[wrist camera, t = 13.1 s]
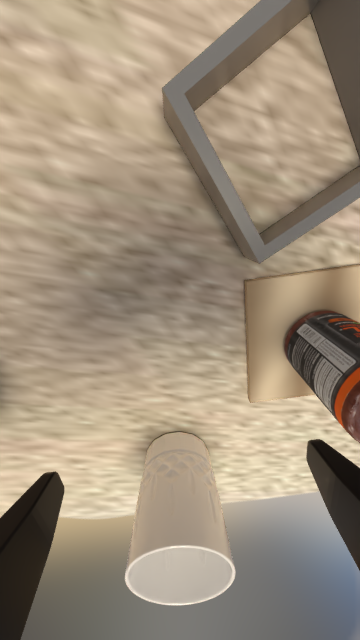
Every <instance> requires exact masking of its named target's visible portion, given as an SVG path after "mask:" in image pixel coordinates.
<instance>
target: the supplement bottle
mask: <svg viewBox="0 0 360 640" xmlns="http://www.w3.org/2000/svg"><path fill="white" fill-rule="evenodd" d="M284 351H285V355H286V358H287V360H288V361H289V363H290V364H291V365H292V367H293V368H294V369H295V370H296V372H297V373H298V374H299V375H300V376H301V378H302V379H303V380H304V381H305V383H306V384H307V385H308V386H309V387H310V388H311V390H312V391H313V392H314V393H315V394H316V396H317V397H318V398H319V399H320V400H321V402H322V403H323V404H324V405H325V406H326V408H327V409H328V410H329V411H330V412H331V413H332V415H333V416H334V417H335V418H336V419H337V420H338V421H339V423H340V424H341V425H342V426H343V428H344V429H345V430H346V431H347V432H348V433H349V434H350V435H351V436H352V437H353V438H354V439H355V440H356V441H358V442H359V443H360V323H359V322H357V321H355V320H353V319H351V318H349V317H347V316H345V315H343V314H340V313H337V312H334V311H318V312H314V313H311V314H308V315H306V316H304V317H303V318H301V319H300V320H299V321H298V322H296V323H295V324H294V325H293V327H292V328H291V329H290V330H289V332H288V334H287V336H286V339H285V344H284Z"/></svg>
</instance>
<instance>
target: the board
mask: <svg viewBox="0 0 360 640" xmlns="http://www.w3.org/2000/svg"><path fill="white" fill-rule="evenodd" d="M244 284H245V313H246V341H247V370H248V398H249V401H250V403H253V402H261V401H269V400H277V399H285V398H292V397H300V396H308V395H316V394H315V393H314V392H313V391H312V390H311V388H310V387H309V386H308V385H307V384H306V383H305V381H304V380H303V379H302V378H301V376H300V375H299V374H298V373H297V372H296V370H295V369H294V368H293V367H292V365H291V364H290V363H289V361H288V360H287V358H286V355H285V351H284V344H285V339H286V336H287V334H288V332H289V330H290V329H291V328H292V327H293V325H294V324H295V323H296V322H298V321H299V320H300V319H301V318H303V317H304V316H306V315H308V314H311V313H314V312H318V311H334V312H337V313H340V314H343V315H345V316H347V317H349V318H351V319H353V320H355V321H357V322H359V323H360V264H358V265H350V266H343V267H336V268H329V269H322V270H315V271H307V272H300V273H293V274H286V275H279V276H272V277H264V278H257V279H250V280H244Z"/></svg>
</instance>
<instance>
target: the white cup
mask: <svg viewBox="0 0 360 640" xmlns="http://www.w3.org/2000/svg"><path fill="white" fill-rule="evenodd" d="M234 578H235V567H234V562H233V558H232V553H231V548H230V544H229V539H228V535H227V531H226V525H225V521H224V516H223V511H222V507H221V502H220V497H219V493H218V490H217V486H216V481H215V477H214V473H213V470H212V467H211V462H210V457H209V452H208V450H207V448H206V446H205V444H204V442H203V441H202V440H200V439H199V438H197V437H196V436H195V435H193V434H188V433H183V432H175V433H168V434H164V435H163V436H161V437H159V438H157V439H155V440H154V441H153V442H152V444H151V445H150V447H149V448H148V450H147V455H146V461H145V468H144V473H143V477H142V479H141V484H140V490H139V495H138V500H137V506H136V512H135V519H134V524H133V530H132V536H131V542H130V549H129V554H128V561H127V566H126V572H125V581H126V584H127V586H128V588H129V589H130V590H131V591H132V592H133V593H134V594H135V595H137V596H138V597H140V598H142V599H144V600H147V601H150V602H153V603H158V604H164V605H188V604H195V603H199V602H203V601H206V600H209V599H212V598H214V597H216V596H218V595H219V594H221V593H223V592H224V591H225V590H226V589H228V587H229V586H230V585H231V584H232V582H233V580H234Z"/></svg>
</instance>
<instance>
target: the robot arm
mask: <svg viewBox="0 0 360 640" xmlns="http://www.w3.org/2000/svg"><path fill="white" fill-rule="evenodd" d="M307 462H308V465H309V467H310V470H311V472H312V474H313V477H314V479H315V481H316V484H317V486H318V488H319V491H320V493H321V495H322V498H323V500H324V502H325V505H326V507H327V509H328V511H329V514H330V516H331V518H332V520H333V522H334V524H335V525H336V527H337V529H338V531H339V533H340V535H341V537H342V538H343V540H344V542H345V544H346V546H347V548H348V550H349V552H350V553H351V555H352V557H353V559H354V561H355V563H356V564H357V567H358V568H359V570H360V468H359V467H358V466H356V465H355V464H354V463H352V462H351V461H349V460H348V459H347V458H345V457H344V456H343V455H341V454H340V453H339V452H337V451H336V450H335V449H333V448H332V447H331V446H329V445H328V444H327V443H325V442H324V441H322V440H320V439H316V440H309V441H308V445H307ZM63 495H64V485H63V483H62V481H61V479H60V477H59V474H58V473H57V472H47V473H44V474H43V475H42V476H41V477H40V478H39V479H38V480H37V481H36V482H35V483H34V484H33V485H32V486H31V487H30V488H29V489H28V490H27V491H26V492H25V493H24V494H23V495H22V496H21V497H20V498H19V499H18V500H17V501H16V502H15V504H14V505H13V506H12V507H11V508H10V509H9V510H8V511H7V512H6V513H5V514H4V515H3V516H2V517H1V518H0V640H20V639H21V636H22V633H23V630H24V627H25V624H26V621H27V618H28V615H29V612H30V609H31V606H32V603H33V600H34V597H35V594H36V591H37V588H38V585H39V581H40V578H41V575H42V573H43V569H44V567H45V563H46V560H47V557H48V554H49V551H50V548H51V544H52V541H53V537H54V533H55V528H56V524H57V520H58V516H59V512H60V508H61V504H62V500H63Z"/></svg>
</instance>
